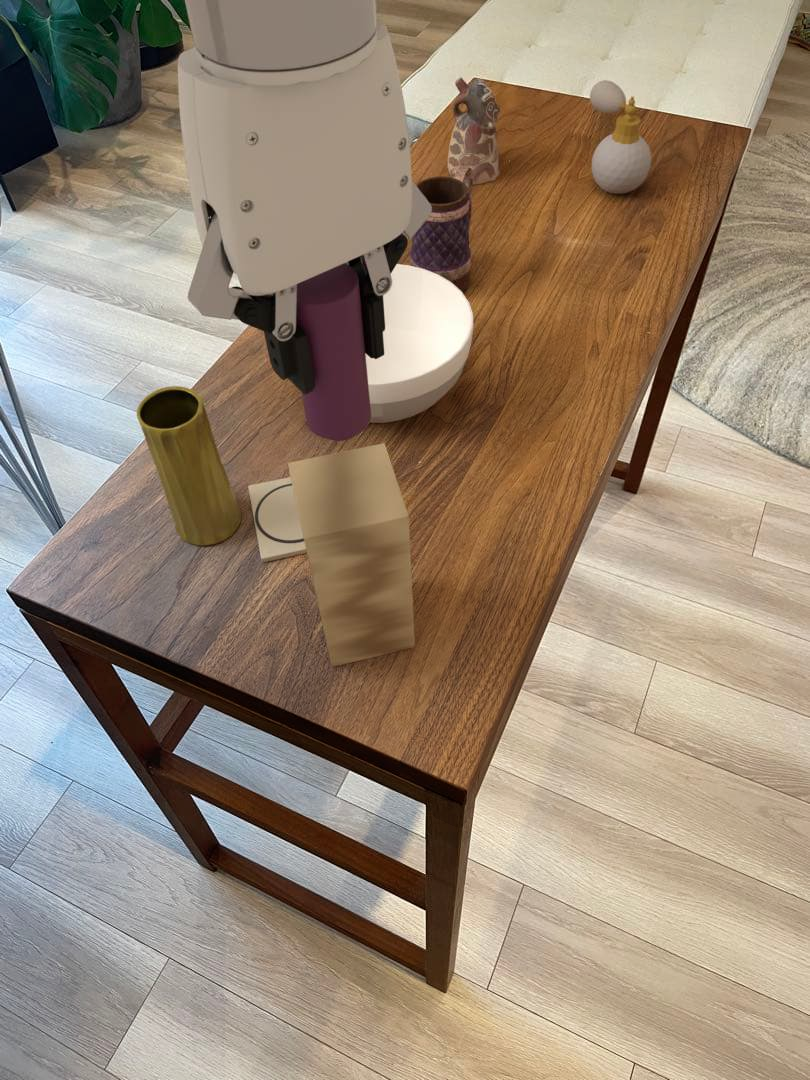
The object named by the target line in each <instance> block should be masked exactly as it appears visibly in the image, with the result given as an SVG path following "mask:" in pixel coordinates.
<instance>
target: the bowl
mask: <svg viewBox="0 0 810 1080" xmlns="http://www.w3.org/2000/svg"><path fill="white" fill-rule="evenodd" d="M391 278H392V286H391V288H390V290H389V291H388V292H387V293H386V294H385V295H383V301H384V316H385V331H383V341H384V356H382V357H380V358H378V359H374V358H370V357H369V356H368V355H367V354H366V353H365V354H366V365H367V376H368V386H369V397H370V408H371V419H370V422H369V423H373V424H376V423H377V424H384V423H385V424H386V423H392V422H397V421H401V420H405V419H408V418H411V417H414V416H416V415H418V414H419V415H420V414H421V413H423V412H425V411H426V410H428V409H429V408H431V407H433V405H435V404H436V403H438V402H439V401H440V400H441V399H442V398H443V397H444V396H445V395H446V394H447V393H448V392H450V390H451V389H452V388H453V387H454V386H455V385H456V384H457V382H458V380H459V378H460V377H461V376H462V374H463V370H464V367H465V365H466V361H467V359H468V357H469V354H470V350H471V347H472V342H473V334H474V333H473V332H474V326H475V325H474V312H473V309H472V307H471V303H470V302H469V300H468V299H467V298H466V296H465V294H464V292H462V291H460V290H459V289H458V288H457V287H456V286H455V285H454V284H453V283H452V282H450V281H448V280H447V279H445V278H443V277H442V276H440V275H438V274H435V273H433V272H430V271H428V270H425V269H422V268H418V267H413V266H410V264H400V263H397V265H396V266H395V268H394V269H393V271H392V273H391Z"/></svg>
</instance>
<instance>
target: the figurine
mask: <svg viewBox="0 0 810 1080" xmlns="http://www.w3.org/2000/svg"><path fill="white" fill-rule="evenodd" d="M454 83H455V84H454V85H455V87H456V88H457V90H458V92H459V94H458V95H457V96H456V98H455V99H454V102H453V104H452V105H453V106H452V114H453V117H454V126H453V129H452V132H451V137H450V140H449V145H448V154H447V171H448V174H449V177H451V173H452V171H453V169H454V167H455V166H456V164H467V165H468V166H469V167H470V168H471V169H472V173H473V186H474V185H475V186H476V185H481V184H485V183H489V182H493V181H496V180H497V178H498V176H500V174H501V170H500V151H499V146H498V134H497V128H496V125H497V122H498V120H497V119H498V118H499V113H500V112H501V109H500V107H499V105H498V104H497V103H496V99H495V94H494V91H493V89H491V87H490V85H489V84H488V83H487V82H486V81H485V80H483V79H482V78H475V79H474V80H472V82H471V84H470V85H469V84H467V82H466V81H465V80H464V79H463V77H458V78H457V79H456V80H455V82H454ZM463 104H464V105H465V106H466V108H467V109H466V110H465V111H462V110H461V109H460V108H459V107H460V105H463Z"/></svg>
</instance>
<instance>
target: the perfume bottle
mask: <svg viewBox="0 0 810 1080" xmlns="http://www.w3.org/2000/svg"><path fill="white" fill-rule="evenodd" d="M589 101H590V102H589V103H590V104H591V106H592V108H594V110H596V111H598V112H600V113H602V114H611V115H612V114H617V113H619V112H621V111H623V110H624V112H625V114H621V115H619V116H618V117H617V118H616V121H615V128H614V130H613V132H612V133H610V134H609V135H607V136H606V137H604V138H603V139H602V140H601V141H600V142H599V143H598V145H597V146H596V148H595V150H594V152H593V155H592V158H591V167H590V169H591V173H592V177H593V179H594V181H595V183H596V184H597V185H598V186H599V187H600V189H601V190H603V191H605V192H607V193H609V194H615V195H622V194H627V193H630V192H633V191H635V190H636V189H637V188H638V187H639V186H641V185H642V184H643V183H644V181H645V180H646V178H647V177H648V175H649V172H650V170H651V166H652V154H651V150H650V146H649V145H648V143H647V141H646V140H645V139H644V138H643V137H642V136H641V135H640V134H639V130H640V126H641V118H640V117H639V116H637V115H634V114H635V113H636V112H637V106H636V105H635V104H636V100H635V96H630V98H629V99H628V104H627V97H626V95H625V93H624V91H623V89H622V88H621V87H620V86H619V85H618V84H617V83H615V82H613V81H611V80H606V79H603V80H599V81H598V82H596V83H595V84H594V85H593V86H592V88H591V90H590V92H589Z"/></svg>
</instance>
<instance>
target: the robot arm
mask: <svg viewBox="0 0 810 1080" xmlns="http://www.w3.org/2000/svg"><path fill="white" fill-rule="evenodd" d="M184 3H185V4H184V5H185V8H186V13H187V18H188V22H189V28H190V31H191V36H192V41H193V45H194V47H191V48H190V49H188V50H185V51H183V52H181V53H180V54H179V56H178V59H177V90H178V108H179V120H180V131H181V139H182V147H183V156H184V162H185V163H184V164H185V169H186V175H187V183H188V186H189V193H190V198H191V204H192V210H193V214H194V219H195V224H196V228H197V233H198V235H199V236H198V237H199V240H200V244H201V246H202V248H201V251H200V255H199V258H198V261H197V264H196V267H195V269H194V270H195V271H194V274H193V277H192V280H191V282H190V286H189V290H188V292H187V300H188V302H189V303H190V304H191V305H192V306H193V307H194V308H195V309H196V310H197V311H198V313H199V314H201V316H204V317H208V318H217V319H223V320H229V321H231V320H237V321H240V322H241V323H243V324H244V325H247V326H249V327H252V328H255V329H257V330H260V331H262V332H263V334H264V339H265V344H266V347H267V348H266V349H267V354H268V357H269V363H270V366H271V368H272V370H273V371H274V372H275V374H276V375H277V376H278V378H280V379H281V380H282V381H285V380H287V379H288V380H289V381H290V382H291V383H292V384H293V385H294V386H295V387H296V388H297V389H298V390H299V391H300V393H301V392H302V393H303V394H304V395H306V394H308V393H310V392H312V391H313V390H314V387H315V380H314V374H313V367H312V361H311V355H310V349H309V342H308V338H307V335H306V334H305V332H304V331H303V330H302V329H300V328H299V327H298V326H297V325H296V313H297V284H298V283H300V282H302V281H305V280H307V279H309V278H312V277H314V276H316V275H319V274H321V273H323V272H325V271H328V270H330V269H332V268H334V267H337V266H339V265H341V264H343V263H345V264H347V265H349V266H350V267H352V268H353V269H354V270H355V272H356V273H357V275H358V280H359V291H360V301H361V312H362V323H363V333H364V344H365V353H366V354H367V355H368V356H369V357H370V358H374V359H378V358H380V357H382V356H384V341H383V331H385V316H384V301H383V295H385V294H386V293H387V292H388V291H389V290H390V288H391V286H392V278H391V273H392V271H393V269H394V268H395V266H396V265H397V264H399V261H400V260H401V259H402V256H403V255H404V253H405V252H406V250H407V247H408V244H409V241H408V240H410V239H411V240H412V237H413V236H414V235H415V233H416V232H417V231H418V230H419V229H420V227H421V226H422V225H423V224H424V222H425V221H426V220H427V219H428V218H429V216H430V214H431V212H432V206H431V204H430V203H429V202H428V200H427V199H426V198H425V196H424V195H423V194H422V192H421V191H420V190H419V189H418V187H417V186H416V185H417V184H416V183H415V182H414V181H413V170H412V168H413V167H412V156H411V155H412V154H411V153H412V152H411V144H410V136H409V135H410V134H409V127H408V119H407V111H406V104H405V99H404V94H403V89H402V82H401V78H400V73H399V68H398V64H397V60H396V56H395V51H394V48H393V44H392V41H391V37H390V34H389V30H388V28H387V26H386V24H385V23H384V22H383V21H382V20H380V19H379V18H378V17H377V14H378V12H379V8H378V0H184ZM234 274H235V275H236V276H237V278H238V281H239V285H240V286H237V285H235V286H231V287H230V284H231V281H232V278H233V275H234ZM302 393H301V394H302Z"/></svg>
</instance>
